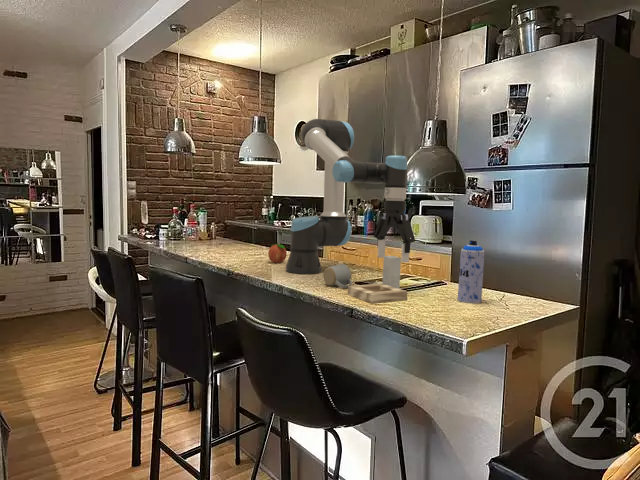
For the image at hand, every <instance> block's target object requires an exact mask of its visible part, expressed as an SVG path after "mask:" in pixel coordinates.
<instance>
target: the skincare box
mask: <svg viewBox="0 0 640 480" xmlns="http://www.w3.org/2000/svg"><path fill="white" fill-rule="evenodd" d="M382 264H383V266H382V267H383V268H382V284H385V285H388V286H391V287H395V288H398V289H400V288H401V287H400V283H401V264H402V262H401V257H399V256H395V255H385V256H384V258H383V263H382Z"/></svg>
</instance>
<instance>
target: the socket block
mask: <svg viewBox="0 0 640 480" xmlns="http://www.w3.org/2000/svg"><path fill="white" fill-rule="evenodd" d="M382 283H383V282H382ZM382 283H371V284H361V285H359V284H358V285H351V286H348V288H347V295H349V296H350V297H351V296H352V297H353V298H356V299H359V300H362V301H363V302H366V301H367V302H366V303H370V304H372V303H373V304H381V303H389V302H390V303H391V302H397V301H407V300H408V291H407V290H404V289H401V288H399V289H398V288H395V287H391V286H388V285H385V284H382Z"/></svg>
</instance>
